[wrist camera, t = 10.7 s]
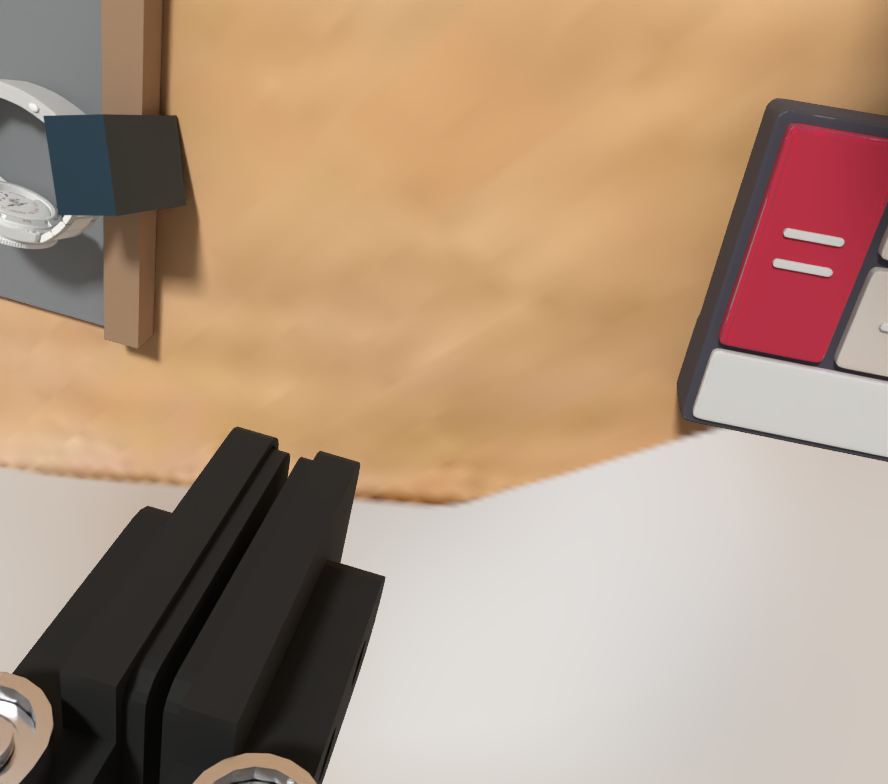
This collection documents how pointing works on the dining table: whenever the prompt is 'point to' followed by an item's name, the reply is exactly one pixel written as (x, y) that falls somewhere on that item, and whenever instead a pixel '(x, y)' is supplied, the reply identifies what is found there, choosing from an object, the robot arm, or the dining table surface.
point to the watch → (90, 169)
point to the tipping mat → (28, 162)
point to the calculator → (801, 289)
